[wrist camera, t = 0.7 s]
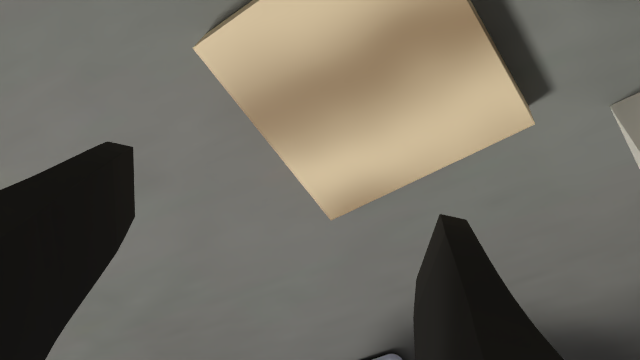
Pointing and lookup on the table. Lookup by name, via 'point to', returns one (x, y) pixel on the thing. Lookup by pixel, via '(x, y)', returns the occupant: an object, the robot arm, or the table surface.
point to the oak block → (366, 89)
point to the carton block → (629, 122)
